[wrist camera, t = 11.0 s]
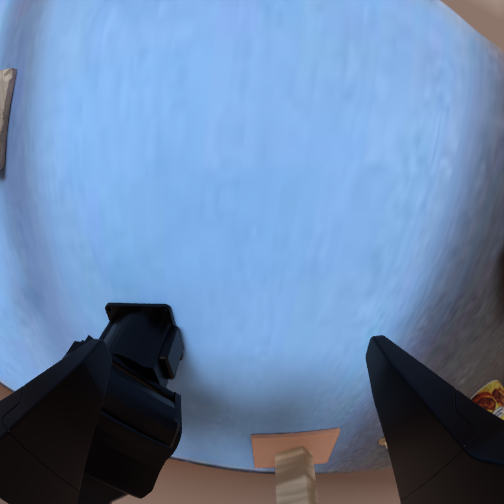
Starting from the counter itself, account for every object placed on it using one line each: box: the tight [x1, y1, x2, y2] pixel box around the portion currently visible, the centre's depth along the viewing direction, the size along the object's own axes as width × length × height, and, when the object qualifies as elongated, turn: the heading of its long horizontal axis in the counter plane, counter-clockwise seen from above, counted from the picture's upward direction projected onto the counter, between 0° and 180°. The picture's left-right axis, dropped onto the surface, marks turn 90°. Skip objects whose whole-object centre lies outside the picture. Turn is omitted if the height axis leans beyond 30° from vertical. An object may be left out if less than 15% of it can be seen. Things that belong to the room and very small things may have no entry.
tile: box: [251, 428, 340, 468], centre depth 34 cm, size 12×12×1 cm
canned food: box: [471, 380, 504, 420], centre depth 27 cm, size 8×8×12 cm
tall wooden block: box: [275, 446, 318, 504], centre depth 29 cm, size 4×4×11 cm
